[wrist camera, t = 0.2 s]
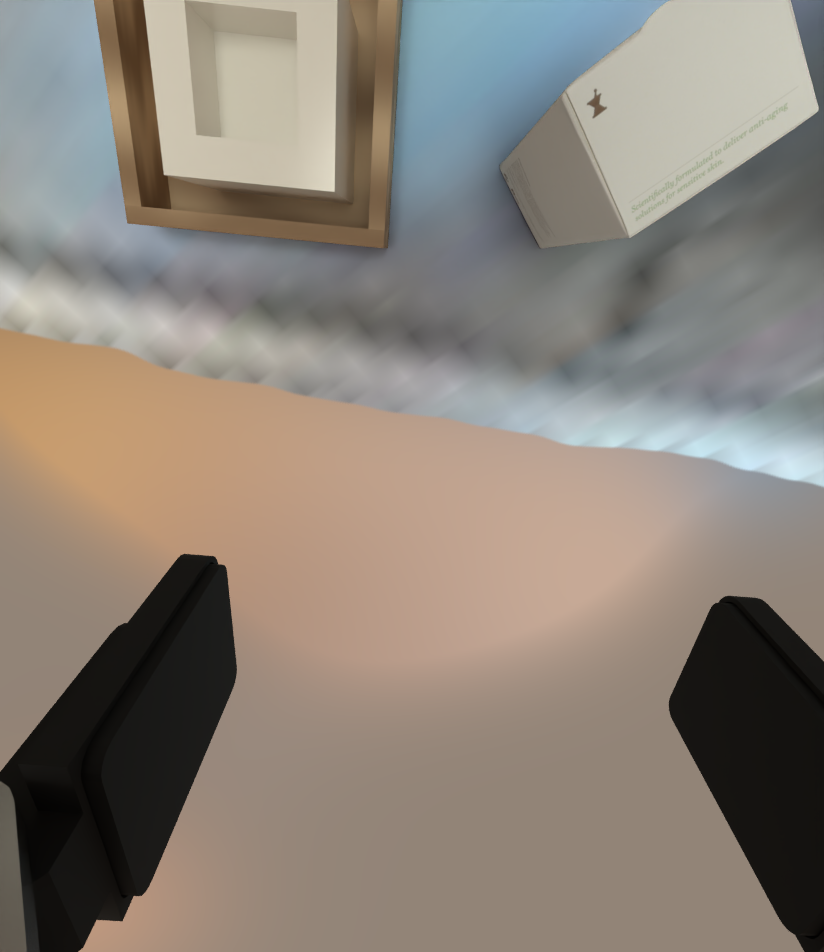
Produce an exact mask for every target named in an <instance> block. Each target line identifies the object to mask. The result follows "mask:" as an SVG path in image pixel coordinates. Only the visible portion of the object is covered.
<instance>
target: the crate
mask: <svg viewBox="0 0 824 952" xmlns="http://www.w3.org/2000/svg"><path fill="white" fill-rule="evenodd" d="M402 1H403V0H349V2H350V6H351V9H352V13H353V16H354V20H355V23H356V27H357V30H358V62H357V96H356V129H355V162H354V196H353V204H345V203H335V202H325V201H315V200H305V199H295V198H285V197H275V196H265V195H255V194H245V193H235V192H225V191H219V190H215V189H212V188H208V187H205V186H201V185H198V184H194V183H191V182H187V181H184V180H180V179H177V178H173V177H170V176H166V175H164V171H163V163H162V154H161V146H160V137H159V129H158V120H157V112H156V103H155V95H154V86H153V77H152V69H151V60H150V52H149V43H148V35H147V26H146V18H145V9H144V1H143V0H94V5H95V11H96V18H97V24H98V31H99V38H100V44H101V51H102V58H103V64H104V71H105V77H106V84H107V91H108V97H109V104H110V111H111V117H112V124H113V130H114V137H115V144H116V150H117V157H118V164H119V170H120V177H121V183H122V190H123V197H124V203H125V210H126V217H127V223H129V224H140V225H150V226H160V227H170V228H181V229H191V230H201V231H212V232H222V233H232V234H242V235H253V236H263V237H273V238H283V239H294V240H304V241H314V242H325V243H335V244H345V245H355V246H366V247H376V248H388V237H389V220H390V203H391V186H392V169H393V153H394V136H395V119H396V102H397V85H398V68H399V52H400V35H401V18H402Z"/></svg>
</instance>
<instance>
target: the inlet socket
mask: <svg viewBox="0 0 824 952" xmlns="http://www.w3.org/2000/svg"><path fill="white" fill-rule="evenodd" d="M143 1H144V9H145V18H146V26H147V35H148V43H149V52H150V60H151V69H152V77H153V86H154V95H155V103H156V112H157V120H158V129H159V137H160V146H161V154H162V163H163V171H164V175H166V176H170V177H173V178H177V179H180V180H184V181H187V182H191V183H194V184H198V185H201V186H205V187H208V188H212V189H215V190H219V191H225V192H235V193H245V194H255V195H265V196H275V197H285V198H295V199H305V200H315V201H325V202H335V203H345V204H353V196H354V162H355V129H356V96H357V62H358V30H357V27H356V23H355V20H354V16H353V13H352V9H351V6H350V2H349V0H143Z"/></svg>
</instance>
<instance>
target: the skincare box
mask: <svg viewBox="0 0 824 952" xmlns="http://www.w3.org/2000/svg"><path fill="white" fill-rule="evenodd" d="M818 108H819V107H818V104H817V101H816V97H815V93H814V89H813V85H812V82H811V78H810V74H809V71H808V67H807V63H806V59H805V55H804V51H803V47H802V44H801V40H800V36H799V32H798V28H797V24H796V20H795V16H794V12H793V8H792V4H791V1H790V0H670V1H668V2H666V3H665V4H663V5H662V6H661V7H659V8H658V9H657V10H656V11H655V12H654V13H653V14H652V15H651V16H650V17H649V18H648V20H647V21H646V22H645V24H644V25H643V27H642V28H640V29H639V30H638V31H636V32H635V33H634V34H633V35H631V36H630V37H629V38H627V39H626V40H625V41H624V42H622V43H621V44H620V45H619V46H617V47H616V48H615V49H613V50H612V51H611V52H610V53H608V54H607V55H606V56H605V57H603V58H602V59H601V60H600V61H598V62H597V63H596V64H594V65H593V66H592V67H591V68H589V69H588V70H587V71H586V72H584V73H583V74H582V75H581V76H579V77H578V78H577V79H576V80H574V81H573V82H572V83H571V84H570V85H569V86H568V87H567V88H566V89H565V91H564V92H563V93H562V94H561V95H560V96H559V98H558V99H557V100H556V101H555V102H554V103H553V105H552V106H551V107H550V108H549V109H548V110H547V112H546V113H545V114H544V115H543V116H542V117H541V119H540V120H539V121H538V122H537V123H536V124H535V126H534V127H533V128H532V129H531V130H530V131H529V132H528V134H527V135H526V136H525V137H524V138H523V139H522V141H521V142H520V143H519V144H518V145H517V146H516V148H515V149H514V150H513V151H512V152H511V153H510V154H509V156H508V157H507V158H506V159H505V160H504V161H503V162H502V163H501V164H500V170H501V172H502V174H503V176H504V178H505V180H506V182H507V184H508V186H509V188H510V190H511V192H512V194H513V196H514V198H515V200H516V202H517V204H518V206H519V208H520V210H521V212H522V214H523V216H524V218H525V220H526V222H527V224H528V226H529V228H530V230H531V231H532V233H533V235H534V237H535V239H536V241H537V243H538V245H539V247H540V248H550V247H557V246H564V245H572V244H579V243H587V242H595V241H603V240H611V239H620V238H631V237H633V236H634V235H636V234H637V233H639V232H640V231H642V230H643V229H645V228H646V227H648V226H649V225H651V224H652V223H654V222H655V221H657V220H658V219H660V218H661V217H663V216H664V215H666V214H667V213H669V212H670V211H672V210H673V209H675V208H676V207H678V206H679V205H681V204H683V203H684V202H686V201H687V200H689V199H690V198H692V197H693V196H695V195H696V194H697V193H699V192H700V191H702V190H703V189H705V188H706V187H708V186H709V185H711V184H712V183H714V182H716V181H717V180H719V179H720V178H722V177H723V176H725V175H726V174H728V173H729V172H731V171H732V170H734V169H735V168H737V167H738V166H740V165H741V164H743V163H744V162H746V161H747V160H749V159H750V158H752V157H753V156H754V155H756V154H757V153H759V152H760V151H762V150H763V149H765V148H766V147H768V146H769V145H771V144H772V143H774V142H775V141H777V140H778V139H780V138H781V137H782V136H784V135H785V134H787V133H788V132H790V131H791V130H793V129H794V128H796V127H797V126H798V125H800V124H801V123H803V122H804V121H805V120H807V119H808V118H810V117H811V116H812V115H814V114H815V113H816V112H817V111H818Z"/></svg>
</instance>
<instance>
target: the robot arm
mask: <svg viewBox="0 0 824 952" xmlns="http://www.w3.org/2000/svg"><path fill="white" fill-rule="evenodd" d="M235 656H236V655H235V647H234V637H233V626H232V617H231V607H230V599H229V588H228V578H227V570H226V567H225V566H224V565H218V562H217V559H216V558H215V557H214V556H203V555H190V554H183V555H181V556H180V557H179V558H178V559H177V560H176V561H175V563H174V564H173V565H172V566H171V568H170V569H169V570H168V572H167V573H166V574H165V575H164V577H163V578H162V579H161V581H160V582H159V583H158V585H157V586H156V587H155V588H154V590H153V591H152V592H151V593H150V595H149V596H148V597H147V599H146V600H145V601H144V602H143V604H142V605H141V606H140V608H139V609H138V610H137V612H136V613H135V614H134V615H133V617H132V618H131V619H130V620H129V622H128V623H124V624H122V625H120V626H118V627H117V628H116V629H115V630H114V631H113V632H112V633H111V634H110V635H109V637H108V638H107V639H106V640H105V642H104V643H103V644H102V645H101V647H100V648H99V649H98V650H97V652H96V653H95V654H94V655H93V657H92V658H91V659H90V661H89V662H88V663H87V664H86V665H85V667H84V668H83V669H82V670H81V672H80V673H79V674H78V675H77V677H76V678H75V679H74V680H73V682H72V683H71V684H70V685H69V687H68V688H67V689H66V690H65V692H64V693H63V694H62V695H61V697H60V698H59V699H58V700H57V702H56V703H55V704H54V705H53V707H52V708H51V709H50V710H49V712H48V713H47V714H46V715H45V717H44V718H43V719H42V720H41V722H40V723H39V724H38V725H37V727H36V728H35V729H34V730H33V732H32V733H31V734H30V735H29V737H28V738H27V739H26V740H25V742H24V743H23V744H22V745H21V747H20V748H19V749H18V750H17V752H16V753H15V754H14V755H13V757H12V758H11V759H10V760H9V762H8V763H7V764H6V765H5V767H4V768H3V769H2V770H1V772H0V952H78V951H79V950H81V949H82V948H83V947H84V945H85V942H86V940H87V938H88V936H89V934H90V932H91V930H92V928H93V926H94V924H95V922H96V920H110V921H123V919H124V916H125V914H126V912H127V910H128V907H129V905H130V903H131V900H132V898H133V896H142V895H143V894H144V893H145V892H146V890H147V888H148V887H149V885H150V883H151V881H152V879H153V876H154V874H155V871H156V869H157V867H158V864H159V862H160V860H161V857H162V855H163V853H164V850H165V848H166V846H167V843H168V841H169V838H170V836H171V834H172V831H173V829H174V826H175V824H176V822H177V820H178V817H179V815H180V812H181V810H182V808H183V805H184V803H185V801H186V798H187V796H188V794H189V791H190V789H191V786H192V784H193V782H194V779H195V777H196V775H197V772H198V770H199V767H200V765H201V763H202V760H203V758H204V756H205V753H206V751H207V749H208V746H209V744H210V741H211V739H212V736H213V734H214V732H215V730H216V727H217V725H218V722H219V720H220V718H221V715H222V713H223V711H224V708H225V706H226V704H227V701H228V699H229V696H230V694H231V692H232V689H233V687H234V683H235V679H236V673H237V665H236V657H235ZM669 711H670V715H671V718H672V720H673V722H674V723H675V726H676V727H677V729H678V731H679V733H680V735H681V737H682V739H683V740H684V742H685V744H686V746H687V748H688V750H689V752H690V754H691V755H692V757H693V759H694V761H695V763H696V765H697V766H698V768H699V770H700V772H701V774H702V776H703V778H704V779H705V781H706V783H707V785H708V787H709V789H710V791H711V792H712V794H713V796H714V798H715V800H716V802H717V804H718V805H719V807H720V809H721V811H722V813H723V815H724V817H725V819H726V821H727V822H728V824H729V826H730V828H731V830H732V832H733V833H734V835H735V837H736V839H737V841H738V843H739V845H740V846H741V848H742V850H743V852H744V854H745V856H746V858H747V860H748V861H749V863H750V865H751V867H752V869H753V871H754V873H755V875H756V876H757V878H758V880H759V882H760V884H761V886H762V887H763V889H764V891H765V893H766V895H767V897H768V899H769V901H770V902H771V904H772V906H773V908H774V910H775V912H776V914H777V915H778V917H779V919H780V920H781V922H782V924H783V925H784V926H785V927H786V928H787V929H788V930H789V931H790V932H792V933H793V934H795V935H796V937H797V939H798V941H799V943H800V944H801V946H802V948H803V950H804V952H824V661H823V660H822V659H821V658H820V657H819V656H818V655H817V654H816V653H815V652H814V651H813V650H812V649H811V648H810V647H809V646H808V645H807V644H806V643H805V642H804V641H803V640H802V639H801V638H800V637H799V636H798V635H797V634H796V633H795V632H794V631H793V630H792V629H791V628H790V627H789V626H788V625H787V624H786V623H785V622H784V621H783V620H782V618H781V617H779V615H778V614H777V613H776V612H774V610H773V609H772V608H771V607H770V606H769V605H768V604H767V603H766V602H764V601H763V600H761V599H758V598H750V597H737V596H725V597H724V598H722V599H721V600H720V601H719V603H715V604H714V605H713V606H712V607H711V609H710V611H709V613H708V615H707V618H706V620H705V622H704V624H703V626H702V629H701V631H700V633H699V635H698V637H697V640H696V642H695V644H694V646H693V648H692V651H691V653H690V655H689V657H688V659H687V662H686V664H685V666H684V668H683V670H682V673H681V675H680V677H679V679H678V681H677V683H676V686H675V688H674V690H673V692H672V694H671V697H670V700H669Z"/></svg>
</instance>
